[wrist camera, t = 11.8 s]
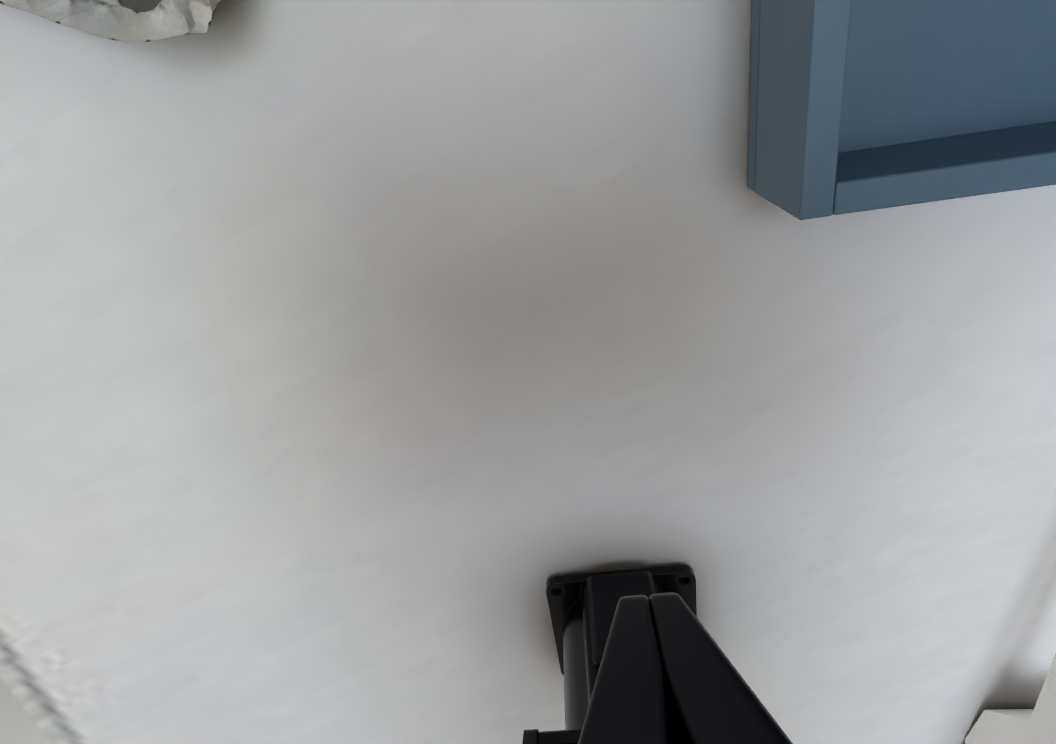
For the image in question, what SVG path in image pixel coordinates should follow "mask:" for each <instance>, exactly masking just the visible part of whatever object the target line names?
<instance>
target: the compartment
mask: <svg viewBox="0 0 1056 744" xmlns="http://www.w3.org/2000/svg"><path fill="white" fill-rule="evenodd" d="M1055 184H1056V0H752V6H751V48H750V91H749V133H748V175H747V186H748V187H749V188H750V189H752V190H753V191H755V192H756V193H758V194H759V195H761V196H762V197H764V198H766V199H767V200H769V201H771V202H772V203H774V204H775V205H777V206H779V207H780V208H782V209H783V210H785V211H787V212H788V213H790V214H791V215H793V216H795V217H796V218H798V219H799V220H804V219H811V218H818V217H826V216H831V215H832V214H834V215H838V214H845V213H853V212H860V211H867V210H874V209H882V208H889V207H896V206H903V205H910V204H918V203H925V202H932V201H939V200H947V199H954V198H961V197H968V196H976V195H983V194H990V193H997V192H1005V191H1012V190H1019V189H1026V188H1034V187H1041V186H1048V185H1055Z"/></svg>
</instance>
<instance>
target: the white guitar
mask: <svg viewBox="0 0 1056 744" xmlns="http://www.w3.org/2000/svg"><path fill="white" fill-rule="evenodd" d="M965 744H1056V654H1055V657H1054V659H1053V662H1052V664H1051V667H1050V669H1049V672H1048V674H1047V677H1046V679H1045V682H1044V685H1043V687H1042V690H1041V692H1040V695H1039V697H1038V700H1037V702H1036V705H1035V707H1034V709H995V710H984V711H983V712H982V714H981V715H980V717H979V719H978V720H977V722H976V723H975V725H974V726H973V728H972V729H971V731H970V732H969V734H968V735H967V737H966V738H965Z"/></svg>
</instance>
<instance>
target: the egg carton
mask: <svg viewBox="0 0 1056 744" xmlns="http://www.w3.org/2000/svg"><path fill="white" fill-rule="evenodd" d="M220 1H221V0H0V3H2V4H5V5H8V6H11V7H14V8H18V9H21V10H24V11H27V12H31V13H34V14H36V15H39V16H41V17H44V18H46V19H48V20H51V21H53V22H56V23H59V24H62V25H65V26H68V27H71V28H74V29H77V30H80V31H83V32H86V33H89V34H92V35H95V36H98V37H102V38H107V39H112V40H117V41H122V42H148V41H153V40H158V39H164V38H169V37H174V36H180V35H185V34H192V33H206V32H207V30H208V28H209V25H210V23H211V19H212V13H213V11H214V9H215V8H216V7H217V5H218V4H219V2H220Z"/></svg>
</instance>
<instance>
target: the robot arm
mask: <svg viewBox="0 0 1056 744" xmlns="http://www.w3.org/2000/svg"><path fill="white" fill-rule="evenodd" d="M683 576H685V577H683ZM680 577H683V578H680ZM556 587H559V588H556ZM546 594H547V599H548V604H549V609H550V615H551V620H552V625H553V631H554V636H555V641H556V646H557V652H558V657H559V662H560V667H561V672H562V674H563V675H564V692H565V724H566V730H561V731H545V732H539V730H538V729H533V730H524V735H523V744H793V743H792V742H791V741H790V739H789V738H788V737H787V735H786V734H785V733H784V731H783V730H782V729H781V728H780V726H779V725H778V724H777V722H776V721H775V720H774V718H773V717H772V716H771V714H770V713H769V712H768V711H767V709H766V708H765V707H764V705H763V704H762V703H761V701H760V700H759V699H758V697H757V696H756V695H755V694H754V692H753V691H752V690H751V688H750V687H749V686H748V684H747V683H746V682H745V680H744V679H743V678H742V677H741V675H740V674H739V673H738V671H737V670H736V669H735V667H734V666H733V665H732V663H731V662H730V661H729V660H728V658H727V657H726V656H725V654H724V653H723V652H722V650H721V649H720V648H719V646H718V645H717V644H716V643H715V641H714V640H713V639H712V637H711V636H710V635H709V633H708V632H707V631H706V629H705V628H704V627H703V625H702V624H701V623H700V622H699V620H698V619H697V618H696V579H695V576H694V572H693V569H692V568H690V567H689V566H685V565H679V566H668V567H657V568H645V569H634V570H622V571H611V572H600V573H588V574H577V575H565V576H555V577H551V578H550V579H548V581H547V582H546Z"/></svg>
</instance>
